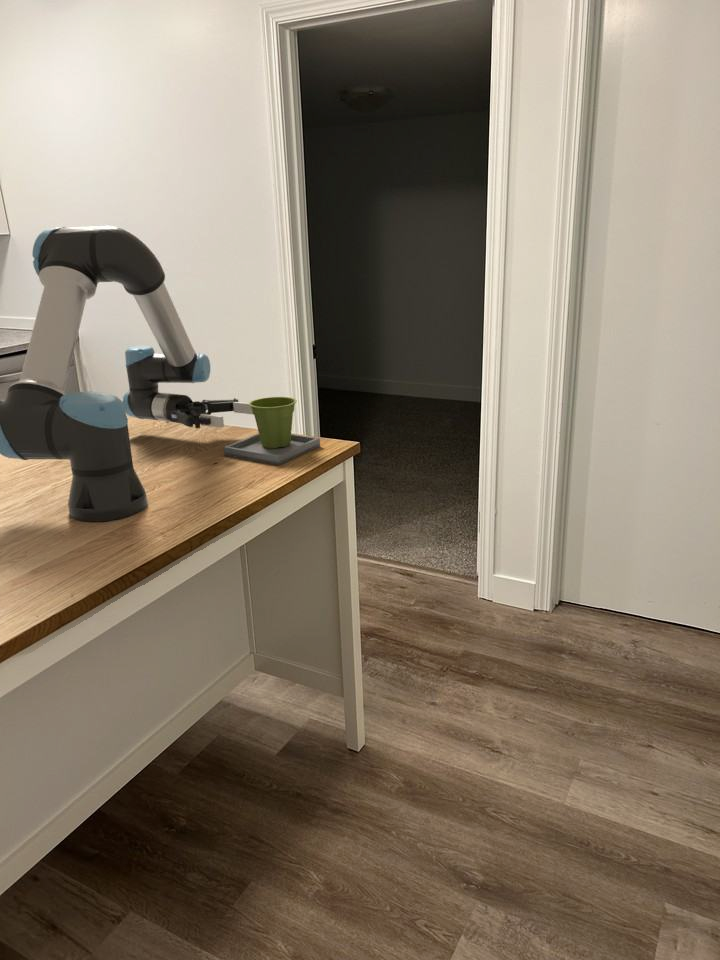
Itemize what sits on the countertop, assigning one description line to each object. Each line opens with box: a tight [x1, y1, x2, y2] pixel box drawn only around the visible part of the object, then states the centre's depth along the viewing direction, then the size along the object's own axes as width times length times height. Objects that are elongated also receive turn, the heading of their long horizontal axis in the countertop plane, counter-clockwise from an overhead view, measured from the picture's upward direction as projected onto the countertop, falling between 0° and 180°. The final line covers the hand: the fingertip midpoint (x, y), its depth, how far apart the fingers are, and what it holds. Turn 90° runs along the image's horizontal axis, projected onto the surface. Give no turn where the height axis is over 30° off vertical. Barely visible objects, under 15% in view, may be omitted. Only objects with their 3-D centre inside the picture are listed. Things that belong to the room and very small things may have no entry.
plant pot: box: [248, 396, 297, 449], centre depth 181 cm, size 12×12×11 cm
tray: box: [223, 433, 321, 466], centre depth 181 cm, size 17×17×2 cm
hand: (239, 415), depth 182 cm, fingers open, 13 cm apart
